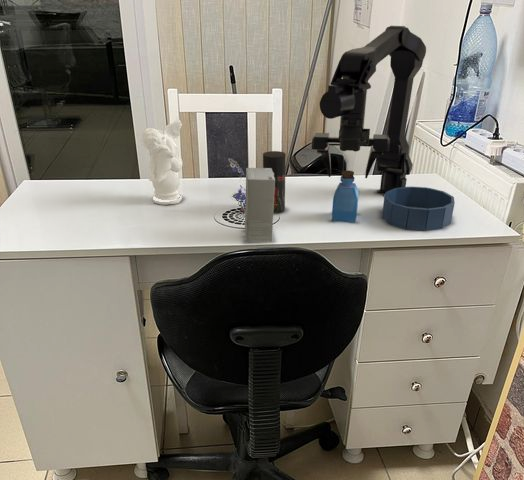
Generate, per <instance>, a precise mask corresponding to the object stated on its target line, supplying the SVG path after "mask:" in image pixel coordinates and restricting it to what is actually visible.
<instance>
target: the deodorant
mask: <svg viewBox="0 0 524 480" xmlns="http://www.w3.org/2000/svg"><path fill="white" fill-rule="evenodd" d="M286 157H287V155H286V153H285V152H284V151H278V150H271V151H270V150H269V151H266V152H263V153H262V168H271V169H272V171H273V173H274V178H275V192H274V210H273V215H274V214H275V215H276V214H281V213H284V212H285V211H286V160H287V159H286Z"/></svg>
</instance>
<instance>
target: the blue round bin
mask: <svg viewBox="0 0 524 480" xmlns="http://www.w3.org/2000/svg"><path fill="white" fill-rule="evenodd" d="M455 202H456V201H455V197H454V196H453V195H451V194H449V193H448V192H447V191H445V190H440V189H436V188H432V187H426V186H406V187H401V188H394V189H392V190H390V191H387V192H386V193H385V195H384V197H383V206H382V214H381V219H382V220H383V221H384V222H386V223H387V224H388V225H390V226H393V227H396V228H400V229H403V230H409V231H410V230H411V231H420V232H421V231H422V232H427V231H435V230H441V229H445V227H447V226H449V225H451V224H452V218H453V214H454V208H455Z"/></svg>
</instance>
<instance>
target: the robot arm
mask: <svg viewBox="0 0 524 480" xmlns="http://www.w3.org/2000/svg"><path fill="white" fill-rule="evenodd" d="M426 54H427V46H426V44H425V43H424V41H423V39H422V38H421V37H420V36H418V35H416V34H414V33H413V32H411V30H410V29H409V27H407V26H405V25H390V26H386V28H385V30H384V31H382V33H380V34H379V35H377V36H376V37H374V39H372V40H371V41H369V42H368V43H367V44H366V45H364V46H362V47H359V48H358V47H356V48H352V49H349V50H347V51H345V52H343V54H342V55H341V57H340V58H339V61H338V63H337V66H336V69H335V70H334V73H333V76H332V79H331V81H330V84H329V85H328V86H327V91H326V92H324V93H323V94H322V96H321V98H320V100H319V110H320V112H321V114H322V116H323V117H325V118H326V119H329V120H333V119H336V118H340V121H339V129H338V137H335V136H332V137H331V136H330V133H329V132H314V134H313V135H312V139H311V150H316V153H318V154H320V155H321V156H322V158H323V160H324V161H323V162H324V163H325V169H326V171H327V174H328V178H330V177H331V176H332V175H331V174H332V161H331V146H334V147H335V146H336V147H337V146H338V147H339V150H340V151H342V152H347V151H350V152H351V151H352V152H359V151H360V150H361V147H370V148H369V149H370V150H369V153H368V159H367V164H366V168H365V177H364V178H365V179H368V177H369V175H370V172H371V171H372V167H373V165H374V163H375V161H376V168H377V172H381V178H380V185H379V189H377V190H376V193H377V194H382V195H384V196H385V193H386V192H387V191H390V190H392V189H394V188H401V187H407V176H409V175H411V173H412V170H413V166H414V165H413V162H412V159H411V157H410V154H409V152H410V145H409V142H408V140H407V137H406V130H407V122H408V117H409V110H410V105H411V97H412V93H413V92H412V91H413V86H414V85H413V84H414V79H415V77H416V75H417V74H418V73H419V71H420V70H421V68H422V67H423V64H424V63H423V62H424V59H425V57H426ZM388 56H389V57H390V65H389V66H390V70H391V72H392V74H393V77H394V80H393V81H394V82H393V89H392V96H391V103H390V110H389V118H388V124H387V125H388V126H387V133H386V134H380V133H379V134H378V133H377V134H376V133H375V134H373V136H372V138H371V136H370V135H371V129H370V128H364V127H365V118H366V117H365V116H366V107H367V105H366V104H367V94H368V90H370V89H371V88H372V85H371V83H370V82H369V80H370V79H371V78H372V76H373V75H374V74H375V73H376V72H377V65H378V64H380V62H382V61H383V60H384V59H386V58H387V57H388Z"/></svg>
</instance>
